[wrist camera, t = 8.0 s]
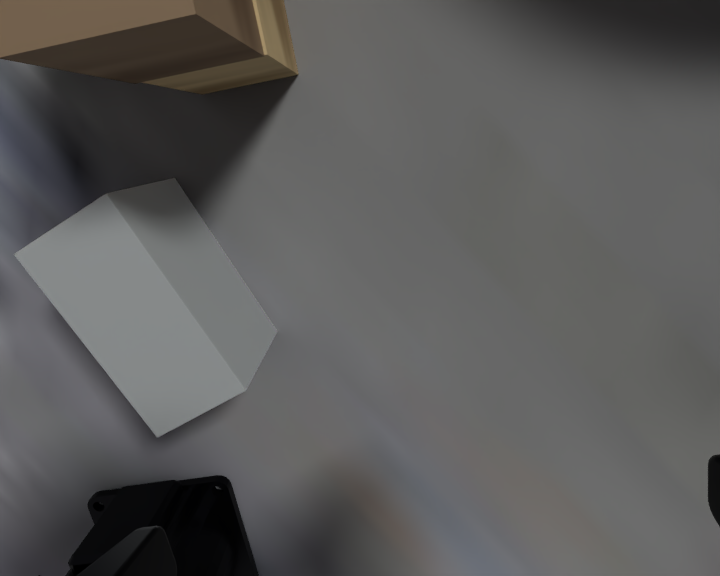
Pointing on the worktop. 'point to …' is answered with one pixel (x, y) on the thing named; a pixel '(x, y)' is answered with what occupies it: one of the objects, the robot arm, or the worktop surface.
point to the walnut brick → (129, 36)
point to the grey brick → (153, 301)
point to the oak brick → (250, 71)
